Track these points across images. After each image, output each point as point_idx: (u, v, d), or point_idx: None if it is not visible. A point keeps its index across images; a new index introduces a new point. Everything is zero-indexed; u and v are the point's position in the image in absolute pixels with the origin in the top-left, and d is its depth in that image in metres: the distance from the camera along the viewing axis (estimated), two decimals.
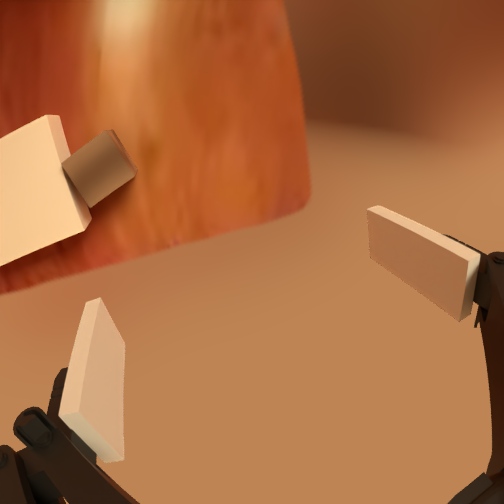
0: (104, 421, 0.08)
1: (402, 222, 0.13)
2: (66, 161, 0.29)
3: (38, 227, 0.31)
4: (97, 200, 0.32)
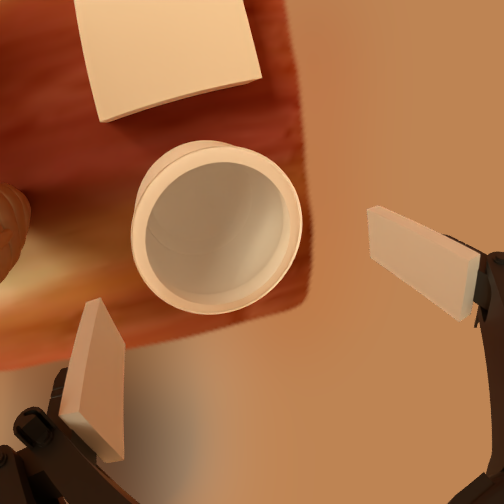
0: (104, 421, 0.08)
1: (402, 222, 0.13)
2: None
3: None
4: None
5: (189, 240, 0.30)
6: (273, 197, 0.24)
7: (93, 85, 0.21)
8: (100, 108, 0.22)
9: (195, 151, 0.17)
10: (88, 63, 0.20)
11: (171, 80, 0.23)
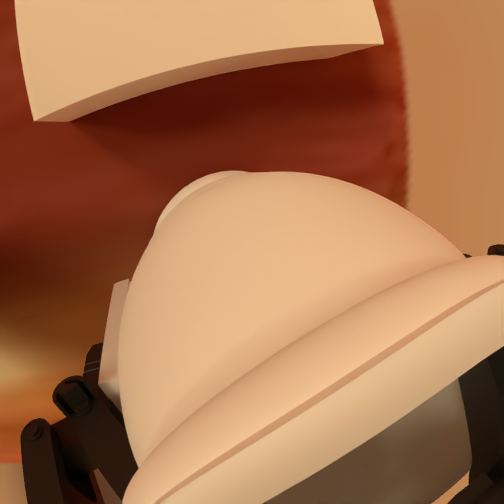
0: None
1: None
2: None
3: None
4: None
5: None
6: None
7: (24, 40, 0.07)
8: (35, 89, 0.08)
9: (436, 321, 0.03)
10: None
11: (201, 22, 0.09)
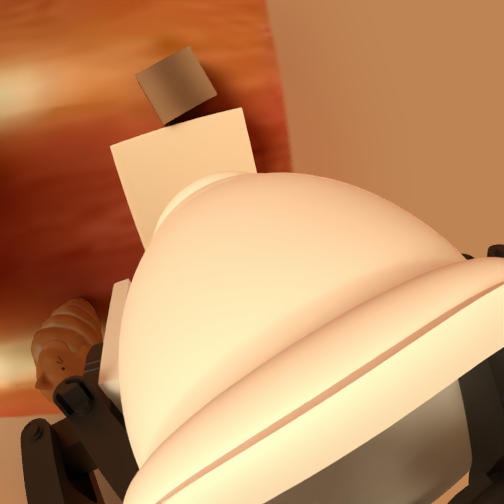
0: None
1: None
2: (163, 117, 0.29)
3: (232, 161, 0.33)
4: (210, 85, 0.29)
5: None
6: None
7: (143, 241, 0.34)
8: None
9: (435, 323, 0.03)
10: (137, 223, 0.33)
11: None
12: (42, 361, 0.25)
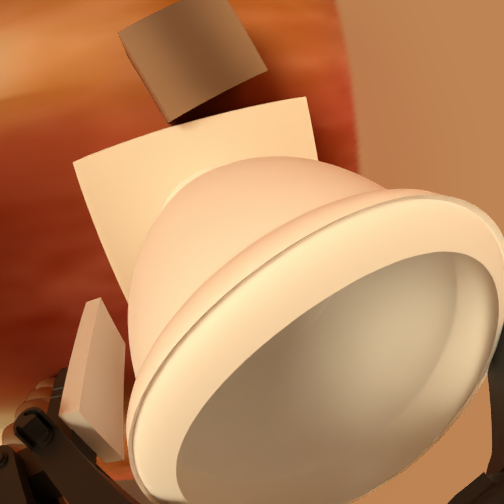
0: (104, 421, 0.08)
1: None
2: (168, 109, 0.15)
3: None
4: (255, 53, 0.15)
5: None
6: (406, 275, 0.12)
7: None
8: None
9: (356, 214, 0.04)
10: (127, 294, 0.19)
11: None
12: None
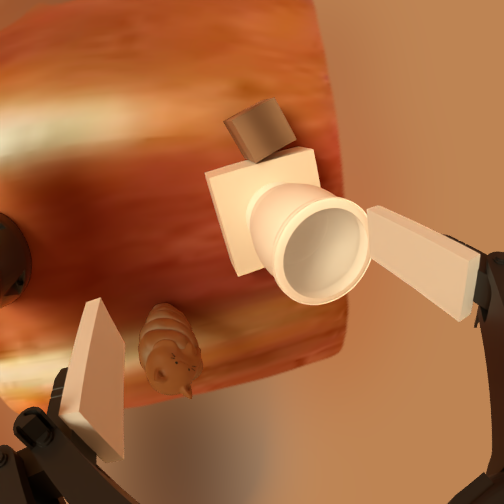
0: (104, 421, 0.08)
1: (402, 222, 0.13)
2: (254, 157, 0.38)
3: None
4: (291, 132, 0.38)
5: None
6: (348, 224, 0.34)
7: (233, 255, 0.43)
8: (238, 269, 0.44)
9: (316, 201, 0.27)
10: (229, 241, 0.42)
11: None
12: (156, 358, 0.34)
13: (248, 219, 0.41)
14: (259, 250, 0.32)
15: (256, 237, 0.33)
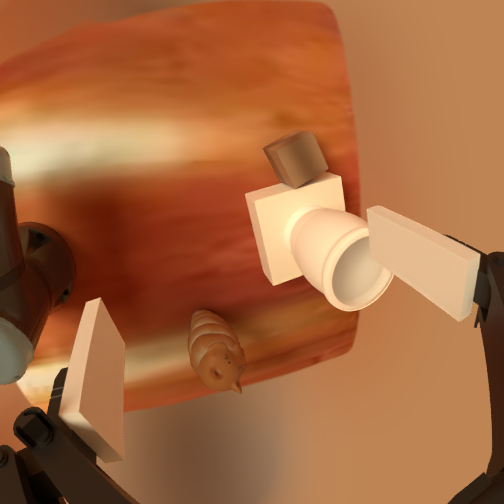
0: (104, 421, 0.08)
1: (402, 222, 0.13)
2: (294, 184, 0.45)
3: None
4: (324, 162, 0.45)
5: None
6: None
7: (270, 267, 0.49)
8: (274, 279, 0.50)
9: (359, 230, 0.34)
10: (268, 255, 0.49)
11: None
12: (211, 359, 0.40)
13: (286, 237, 0.47)
14: (306, 267, 0.39)
15: (303, 256, 0.39)
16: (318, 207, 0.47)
